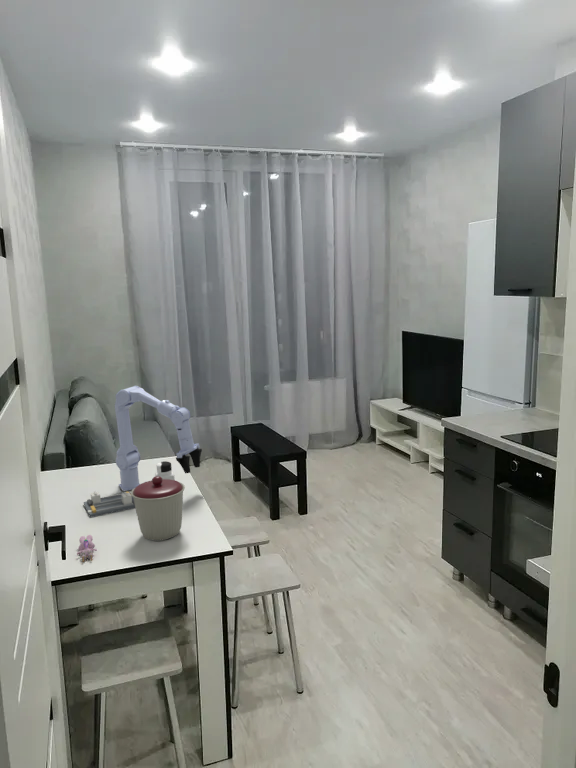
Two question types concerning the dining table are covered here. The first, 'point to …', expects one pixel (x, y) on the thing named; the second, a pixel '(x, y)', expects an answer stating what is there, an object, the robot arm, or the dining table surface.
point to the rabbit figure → (86, 547)
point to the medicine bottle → (165, 470)
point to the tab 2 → (126, 498)
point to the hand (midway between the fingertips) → (192, 470)
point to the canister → (159, 507)
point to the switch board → (107, 505)
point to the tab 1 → (95, 497)
